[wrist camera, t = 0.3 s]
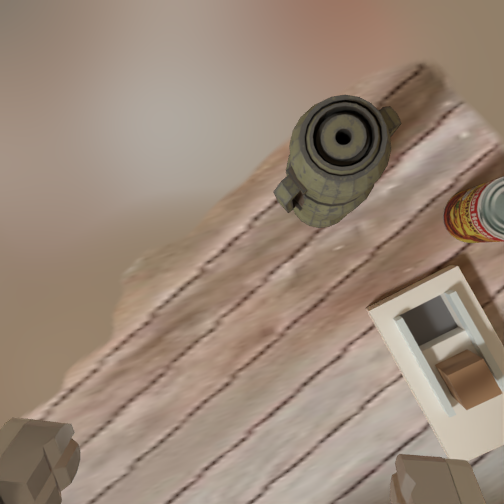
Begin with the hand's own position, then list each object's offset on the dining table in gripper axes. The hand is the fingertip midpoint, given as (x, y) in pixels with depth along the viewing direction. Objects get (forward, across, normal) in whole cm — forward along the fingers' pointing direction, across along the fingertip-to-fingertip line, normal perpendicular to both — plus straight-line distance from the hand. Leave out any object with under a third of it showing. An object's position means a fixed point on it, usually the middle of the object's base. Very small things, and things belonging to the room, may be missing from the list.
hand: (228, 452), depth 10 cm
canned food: (+52, +27, -15) cm, 61 cm away
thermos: (+53, +5, -13) cm, 55 cm away
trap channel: (+42, +25, -34) cm, 59 cm away
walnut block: (+39, +26, -33) cm, 57 cm away
